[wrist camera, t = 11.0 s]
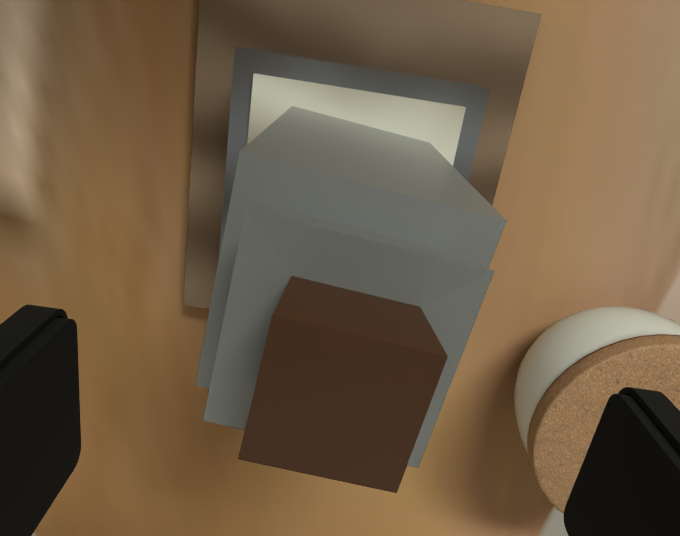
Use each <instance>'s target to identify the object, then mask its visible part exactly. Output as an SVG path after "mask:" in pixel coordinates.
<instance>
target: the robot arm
mask: <svg viewBox="0 0 680 536" xmlns="http://www.w3.org/2000/svg"><path fill="white" fill-rule="evenodd" d="M80 451H81V431H80V402H79V373H78V344H77V325H76V322H75V321H74V320H73V319H68V318H67V315H66V312H65V311H64V310H63V309H56V308H48V307H41V306H34V305H25V306H23V307H22V308H21V309H19V310H18V311H17V312H16V313H14V314H13V315H12V316H11V317H9V318H8V319H7V320H6V321H4V322H3V323H2V324H1V325H0V536H31V535H32V534H33V532H34V531H35V529H36V527H37V526H38V524H39V523H40V521H41V520H42V518H43V517H44V515H45V514H46V512H47V510H48V509H49V507H50V506H51V504H52V503H53V501H54V500H55V498H56V496H57V495H58V493H59V492H60V490H61V489H62V487H63V486H64V484H65V483H66V481H67V479H68V478H69V476H70V475H71V473H72V472H73V470H74V468H75V467H76V464H77V462H78V459H79V456H80ZM564 523H565V527H566V531H567V533H568V535H569V536H680V411H679V410H678V409H677V408H676V407H675V405H674V404H673V403H672V402H671V401H670V400H669V399H668V398H667V397H666V396H665V395H664V394H663V393H662V392H659V391H654V390H646V389H639V388H632V387H625V388H622V389H621V390H620V391H619V393H618V394H612V395H611V396H610V397H609V399H608V401H607V404H606V406H605V409H604V411H603V414H602V416H601V418H600V421H599V423H598V426H597V428H596V431H595V433H594V436H593V438H592V441H591V443H590V446H589V448H588V451H587V453H586V456H585V458H584V461H583V463H582V466H581V468H580V471H579V473H578V476H577V478H576V481H575V483H574V486H573V488H572V491H571V493H570V496H569V498H568V501H567V503H566V506H565V509H564Z"/></svg>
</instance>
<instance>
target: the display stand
mask: <svg viewBox="0 0 680 536" xmlns="http://www.w3.org/2000/svg"><path fill="white" fill-rule="evenodd" d="M540 18H541V14H539V13H533V12H527V11H521V10H515V9H509V8H503V7H497V6H491V5H485V4H479V3H473V2H467V1H461V0H199V18H198V37H197V56H196V75H195V94H194V113H193V132H192V151H191V170H190V189H189V208H188V226H187V245H186V264H185V283H184V302H183V305H184V306H191V307H198V308H205V309H210V304H211V299H212V294H213V289H214V283H215V278H216V273H217V268H218V262H219V257H220V252H221V247H222V241H223V236H224V231H225V225H226V220H227V215H228V210H229V204H230V199H231V194H232V189H233V183H234V178H235V173H236V168H237V162H238V157H239V152H240V151H241V150H242V149H243V148H244V147H245V146H246V145H248V144H249V143H250V142H251V141H252V140H253V139H255V138H256V137H257V136H258V135H259V134H260V133H261V132H263V131H264V130H265V129H266V128H267V127H268V126H270V125H271V124H272V123H273V122H274V121H275V120H277V119H278V118H279V117H280V116H281V115H282V114H284V113H285V112H286V111H287V110H288V109H289V108H290V107H292V106H295V107H298V108H302V109H306V110H310V111H313V112H317V113H321V114H324V115H328V116H332V117H336V118H339V119H343V120H347V121H351V122H354V123H358V124H362V125H366V126H369V127H373V128H377V129H381V130H384V131H388V132H392V133H396V134H399V135H403V136H407V137H410V138H414V139H418V140H422V141H425V142H429V143H431V144H432V146H433V147H434V148H435V149H436V150H437V151H438V152H439V153H440V154H441V155H442V156H443V157H444V158H445V159H446V160H447V161H448V162H449V163H450V164H451V165H452V166H453V167H454V168H455V169H456V170H457V171H458V172H459V173H460V174H461V175H462V176H463V177H464V178H465V179H466V180H467V181H468V182H469V183H470V184H471V185H472V186H473V187H474V188H475V189H476V190H477V191H478V192H479V193H480V194H481V195H482V196H483V197H484V198H485V199H486V200H487V201H488V202H489V203H490V204H491V205H492V204H493V200H494V196H495V192H496V189H497V185H498V181H499V177H500V173H501V169H502V165H503V161H504V157H505V154H506V150H507V146H508V142H509V138H510V134H511V130H512V126H513V122H514V119H515V115H516V111H517V107H518V103H519V99H520V95H521V91H522V88H523V84H524V80H525V76H526V72H527V68H528V64H529V60H530V56H531V53H532V49H533V45H534V41H535V37H536V33H537V29H538V25H539V21H540Z"/></svg>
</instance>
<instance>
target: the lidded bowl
mask: <svg viewBox="0 0 680 536" xmlns="http://www.w3.org/2000/svg"><path fill="white" fill-rule="evenodd" d="M625 387H632V388H639V389H646V390H654V391H659V392H662V393H663V394H664V395H665V396H666V397H667V398H668V399H669V400H670V401H671V402H672V403H673V404H674V405H675V407H676V408H677V409H678V410H679V411H680V324H679V323H677V322H675V321H673V320H671V319H669V318H666V317H663V316H661V315H658V314H655V313H652V312H650V311H647V310H642V309H637V308H631V307H620V306H606V307H596V308H592V309H588V310H584V311H579V312H577V313H574V314H572V315H569V316H567V317H565V318H563V319H561V320H559V321H557V322H556V323H554V324H553V325H552V326H550V327H549V328H547V329H546V330H545V331H544V332H543V333H542V334H541V335H540V336H539V337H538V338H537V339H536V340H535V341H534V343H533V344H532V345H531V347H530V348H529V349H528V351H527V353H526V355H525V356H524V358H523V360H522V362H521V365H520V367H519V370H518V374H517V379H516V385H515V390H514V404H515V414H516V419H517V424H518V428H519V432H520V436H521V439H522V442H523V444H524V447H525V450H526V452H527V454H528V457H529V462H530V466H531V469H532V471H533V473H534V476H535V478H536V481H537V483H538V485H539V487H540V489H541V490H542V492H543V493H544V495H545V496H546V498H547V499H548V500H549V501H550V502H551V503H552V504H553V505H554V506H555V507H556V508H557V509H558V510H559V511H561V512H562V513H563V514H564V509H565V506H566V503H567V501H568V498H569V496H570V493H571V491H572V488H573V486H574V483H575V481H576V478H577V476H578V473H579V471H580V468H581V466H582V463H583V461H584V458H585V456H586V453H587V451H588V448H589V446H590V443H591V441H592V438H593V436H594V433H595V431H596V428H597V426H598V423H599V421H600V418H601V416H602V414H603V411H604V409H605V406H606V404H607V401H608V399H609V397H610V396H611V395H612V394H618V393H619V391H620V390H621V389H622V388H625Z"/></svg>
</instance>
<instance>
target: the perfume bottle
mask: <svg viewBox="0 0 680 536" xmlns="http://www.w3.org/2000/svg"><path fill="white" fill-rule="evenodd" d="M505 223H506V219H505V218H504V217H503V216H502V215H501V214H500V213H499V212H498V211H497V210H496V209H495V208H494V207H493V206H492V205H491V204H490V203H489V202H488V201H487V200H486V199H485V198H484V197H483V196H482V195H481V194H480V193H479V192H478V191H477V190H476V189H475V188H474V187H473V186H472V185H471V184H470V183H469V182H468V181H467V180H466V179H465V178H464V177H463V176H462V175H461V174H460V173H459V172H458V171H457V170H456V169H455V168H454V167H453V166H452V165H451V164H450V163H449V162H448V161H447V160H446V159H445V158H444V157H443V156H442V155H441V154H440V153H439V152H438V151H437V150H436V149H435V148H434V147H433V146H432V144H431V143H429V142H425V141H422V140H418V139H414V138H410V137H407V136H403V135H399V134H396V133H392V132H388V131H384V130H381V129H377V128H373V127H369V126H366V125H362V124H358V123H354V122H351V121H347V120H343V119H339V118H336V117H332V116H328V115H324V114H321V113H317V112H313V111H310V110H306V109H302V108H298V107H295V106H292V107H290V108H289V109H288V110H287V111H286V112H285V113H284V114H282V115H281V116H280V117H279V118H278V119H277V120H275V121H274V122H273V123H272V124H271V125H270V126H268V127H267V128H266V129H265V130H264V131H263V132H261V133H260V134H259V135H258V136H257V137H256V138H255V139H253V140H252V141H251V142H250V143H249V144H248V145H246V146H245V147H244V148H243V149H242V150H241V151H240V152H239V157H238V162H237V168H236V173H235V178H234V183H233V189H232V194H231V199H230V204H229V210H228V215H227V220H226V225H225V231H224V236H223V241H222V247H221V252H220V257H219V262H218V268H217V273H216V278H215V283H214V289H213V294H212V299H211V304H210V310H209V315H208V320H207V325H206V331H205V336H204V341H203V347H202V352H201V357H200V362H199V368H198V373H197V378H196V383H195V386H199V387H204V388H208V389H209V394H208V398H207V403H206V408H205V413H204V418H203V421H206V422H211V423H216V424H220V425H225V426H229V427H234V428H238V429H243V430H245V432H244V436H243V441H242V445H241V449H240V453H239V458H238V459H240V460H244V461H249V462H254V463H258V464H263V465H268V466H272V467H277V468H282V469H286V470H291V471H296V472H300V473H305V474H310V475H314V476H319V477H324V478H328V479H333V480H338V481H343V482H347V483H352V484H357V485H361V486H366V487H371V488H375V489H380V490H385V491H389V492H394V493H397V491H398V488H399V485H400V483H401V480H402V477H403V475H404V472H405V469H406V467H407V465H408V466H413V467H417V468H418V467H419V464H420V462H421V459H422V457H423V454H424V451H425V449H426V446H427V444H428V441H429V439H430V436H431V433H432V431H433V428H434V426H435V423H436V420H437V418H438V415H439V413H440V410H441V408H442V405H443V402H444V400H445V397H446V395H447V392H448V389H449V387H450V384H451V382H452V379H453V376H454V374H455V371H456V369H457V366H458V364H459V361H460V358H461V356H462V353H463V351H464V348H465V345H466V343H467V340H468V338H469V335H470V332H471V330H472V327H473V325H474V322H475V320H476V317H477V314H478V312H479V309H480V307H481V304H482V301H483V299H484V296H485V294H486V291H487V289H488V286H489V283H490V281H491V278H492V276H493V273H494V271H492V270H490V269H488V268H489V265H490V262H491V260H492V257H493V255H494V252H495V249H496V247H497V244H498V241H499V239H500V236H501V234H502V231H503V228H504V226H505Z"/></svg>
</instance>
